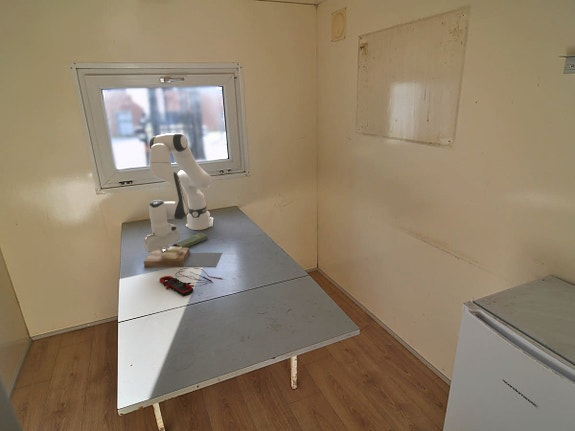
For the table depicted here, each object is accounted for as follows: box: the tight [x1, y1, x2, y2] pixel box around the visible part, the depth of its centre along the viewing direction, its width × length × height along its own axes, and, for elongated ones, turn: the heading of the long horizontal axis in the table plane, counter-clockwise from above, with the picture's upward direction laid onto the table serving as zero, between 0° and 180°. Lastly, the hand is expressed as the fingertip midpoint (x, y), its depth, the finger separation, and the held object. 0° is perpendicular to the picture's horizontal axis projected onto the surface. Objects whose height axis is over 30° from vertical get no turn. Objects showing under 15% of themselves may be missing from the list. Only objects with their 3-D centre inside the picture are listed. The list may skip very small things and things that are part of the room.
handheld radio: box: [168, 232, 209, 248], centre depth 209 cm, size 7×3×25 cm
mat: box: [181, 252, 222, 268], centre depth 191 cm, size 16×18×1 cm
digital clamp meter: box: [158, 267, 226, 298], centre depth 170 cm, size 23×4×25 cm
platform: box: [143, 247, 191, 268], centre depth 191 cm, size 16×20×4 cm
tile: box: [162, 245, 183, 259], centre depth 189 cm, size 10×7×2 cm
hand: (164, 252), depth 190 cm, fingers closed
